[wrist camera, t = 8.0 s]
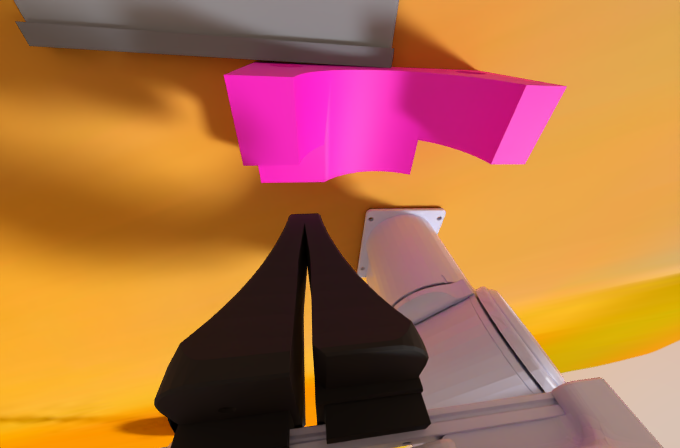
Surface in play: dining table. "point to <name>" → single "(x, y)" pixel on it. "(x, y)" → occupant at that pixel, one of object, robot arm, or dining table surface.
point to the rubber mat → (220, 28)
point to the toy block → (379, 117)
